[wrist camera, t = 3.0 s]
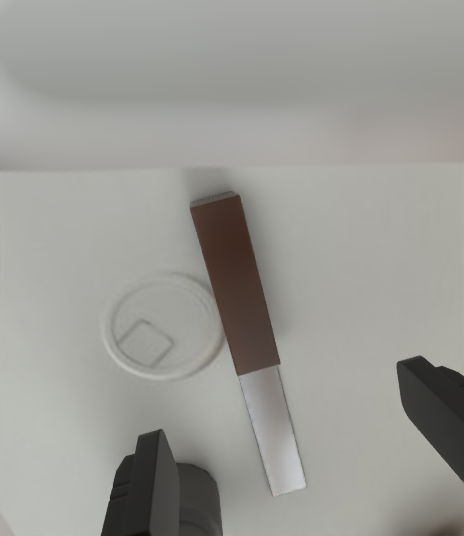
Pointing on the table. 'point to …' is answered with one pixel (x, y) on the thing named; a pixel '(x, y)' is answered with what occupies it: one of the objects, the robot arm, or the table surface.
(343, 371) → the table surface
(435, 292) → the table surface
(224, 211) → the kitchen knife
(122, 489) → the robot arm
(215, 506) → the candle holder
